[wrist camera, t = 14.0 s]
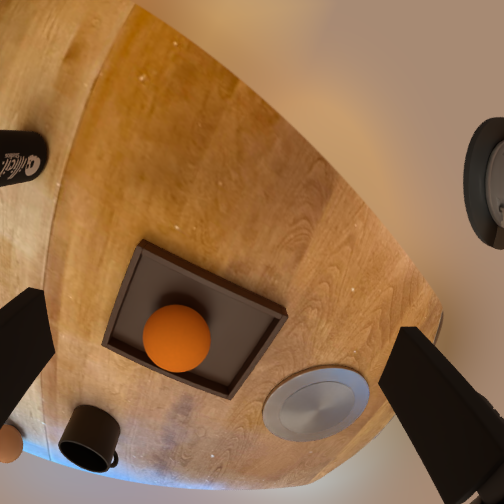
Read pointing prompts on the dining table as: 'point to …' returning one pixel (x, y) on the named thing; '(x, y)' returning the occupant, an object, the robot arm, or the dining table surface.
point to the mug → (90, 439)
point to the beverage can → (20, 156)
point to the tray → (207, 305)
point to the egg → (10, 444)
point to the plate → (315, 403)
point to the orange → (176, 338)
